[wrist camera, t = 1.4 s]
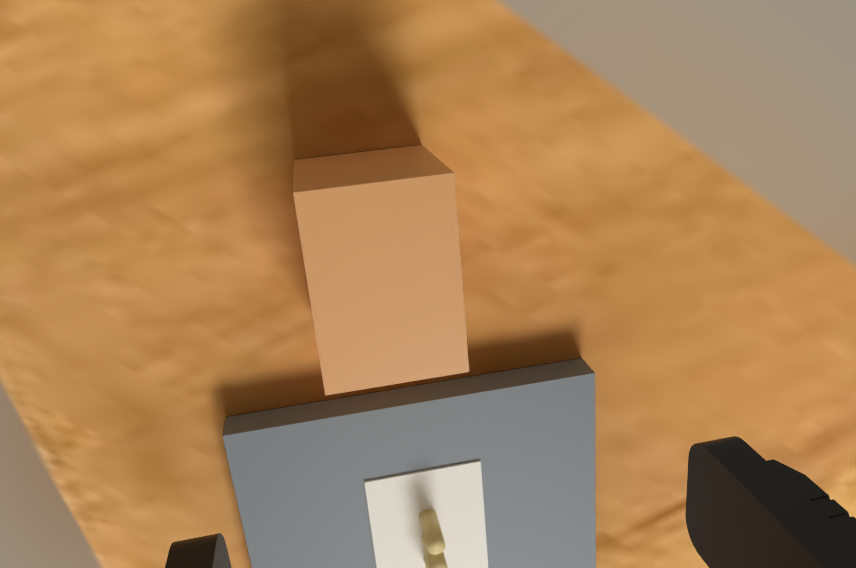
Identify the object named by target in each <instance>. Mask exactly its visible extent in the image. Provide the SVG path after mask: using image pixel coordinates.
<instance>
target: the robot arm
mask: <svg viewBox="0 0 856 568" xmlns="http://www.w3.org/2000/svg"><path fill="white" fill-rule="evenodd" d="M686 524H687V529H688V532H689V535H690V538H691V541H692V543H693V545H694V547H695V549H696V551H697V552H698V554H699V555H700V556H701V558H702V559H703V560H704V561H705V563H706V564H707V565H708V567H709V568H856V518H854V517H850V516H849V514H848V512H847V511H846V510H845V509H844V508H843V507H842V506H840V505H839V504H838V503H837V502H836V501H835V500H834V499H833V500H830V499H829V495H828V494H827V493H825V492H824V491H823V490H822V489H821V488H820V487H818V486H817V485H816V484H815V483H814V482H813V481H811V480H810V479H809V478H808V477H807V476H806V475H804V474H802V473H800V472H798V471H796V470H794V469H792V468H790V467H788V466H786V465H784V464H782V463H780V462H778V461H776V460H768V461H766V460H765V459H763V458H762V457H761V456H760V455H759V454H758V453H757V452H756V451H755V450H753V449H752V448H751V447H750V446H749V445H748V444H747V443H746V442H745V441H743V440H742V439H741V438H739V437H735V436H734V437H728V438H723V439H718V440H712V441H707V442H702V443H697V444H694V445H693V446H692V447H691V449H690V451H689V460H688V480H687V499H686ZM165 568H231V564H230V559H229V555H228V551H227V547H226V543H225V540H224V537H223V535H222V534H221V533H219V534H214V535H209V536H203V537H198V538H193V539H188V540H183V541H177V542H173V543H172V545H171V547H170V550H169V554H168V558H167V562H166V566H165Z"/></svg>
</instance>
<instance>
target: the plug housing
mask: <svg viewBox="0 0 856 568" xmlns="http://www.w3.org/2000/svg"><path fill="white" fill-rule="evenodd" d="M293 196H294V202H295V209H296V215H297V221H298V227H299V234H300V240H301V246H302V253H303V259H304V265H305V271H306V278H307V284H308V290H309V296H310V303H311V309H312V315H313V322H314V328H315V334H316V340H317V347H318V353H319V359H320V366H321V372H322V378H323V384H324V391H325V396H326V395H332V394H338V393H344V392H350V391H356V390H362V389H368V388H375V387H381V386H387V385H393V384H399V383H405V382H411V381H417V380H423V379H429V378H435V377H441V376H447V375H454V374H460V373H466V372H469V362H468V349H467V335H466V322H465V309H464V295H463V282H462V269H461V255H460V242H459V229H458V215H457V202H456V189H455V175H454V172H453V171H452V170H451V169H449V168H448V167H447V166H446V165H445V164H444V163H442V162H441V161H440V160H439V159H438V158H437V157H435V156H434V155H433V154H432V153H431V152H430V151H429V150H427V149H426V148H425V147H424V146H423V145H417V146H408V147H400V148H391V149H383V150H374V151H366V152H357V153H349V154H340V155H332V156H323V157H315V158H306V159H298V160H294V171H293Z"/></svg>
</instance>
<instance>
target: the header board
mask: <svg viewBox="0 0 856 568" xmlns="http://www.w3.org/2000/svg"><path fill="white" fill-rule="evenodd" d="M223 441H224V445H225V450H226V454H227V459H228V463H229V467H230V472H231V476H232V481H233V485H234V490H235V494H236V499H237V503H238V508H239V512H240V517H241V521H242V525H243V530H244V534H245V539H246V543H247V548H248V552H249V557H250V561H251V566H252V568H596V539H595V372H594V371H593V370H592V369H591V368H590V367H589V366H588V365H587V363H586V362H585V361H584V360H583V359H582V358H580V359H574V360H568V361H562V362H556V363H550V364H544V365H538V366H532V367H526V368H520V369H514V370H508V371H502V372H496V373H490V374H484V375H477V376H471V377H465V378H459V379H453V380H447V381H441V382H435V383H429V384H423V385H417V386H411V387H405V388H399V389H393V390H387V391H381V392H375V393H369V394H363V395H357V396H351V397H345V398H339V399H333V400H326V401H320V402H314V403H308V404H302V405H296V406H290V407H284V408H278V409H272V410H266V411H260V412H254V413H248V414H242V415H236V416H230V417H226V420H225V425H224V430H223Z"/></svg>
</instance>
